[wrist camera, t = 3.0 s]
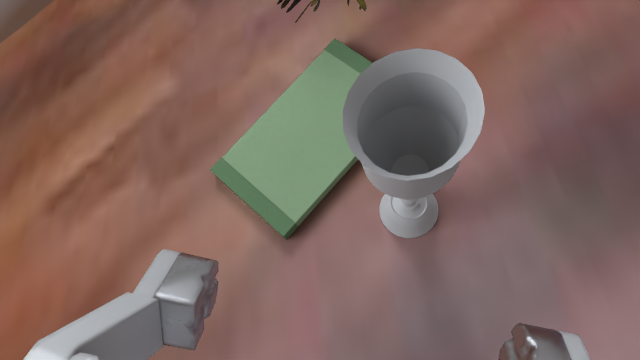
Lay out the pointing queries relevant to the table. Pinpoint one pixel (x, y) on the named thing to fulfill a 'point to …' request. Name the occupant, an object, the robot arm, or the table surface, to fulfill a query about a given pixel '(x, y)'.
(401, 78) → the chalice
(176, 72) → the table surface
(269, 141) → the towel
